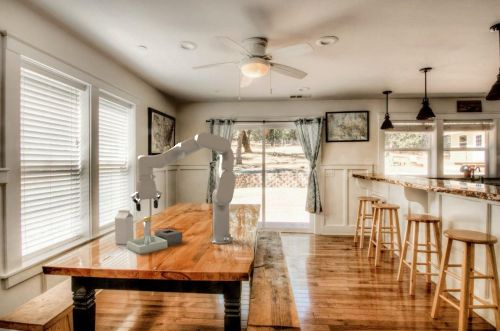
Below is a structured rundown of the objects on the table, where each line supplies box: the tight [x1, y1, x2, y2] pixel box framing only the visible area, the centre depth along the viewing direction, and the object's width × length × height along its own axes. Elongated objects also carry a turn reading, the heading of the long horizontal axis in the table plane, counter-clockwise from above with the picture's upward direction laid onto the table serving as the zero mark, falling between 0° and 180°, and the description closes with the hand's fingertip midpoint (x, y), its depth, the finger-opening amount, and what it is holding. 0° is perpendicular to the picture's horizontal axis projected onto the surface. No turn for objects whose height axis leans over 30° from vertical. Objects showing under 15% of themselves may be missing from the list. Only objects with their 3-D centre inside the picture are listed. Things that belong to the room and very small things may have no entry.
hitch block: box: [153, 227, 183, 247], centre depth 166 cm, size 14×10×6 cm
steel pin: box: [143, 215, 152, 245], centre depth 155 cm, size 4×4×16 cm
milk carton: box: [114, 209, 135, 245], centre depth 166 cm, size 7×7×19 cm
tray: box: [126, 235, 168, 256], centre depth 155 cm, size 16×16×4 cm
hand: (147, 209), depth 155 cm, fingers open, 9 cm apart
